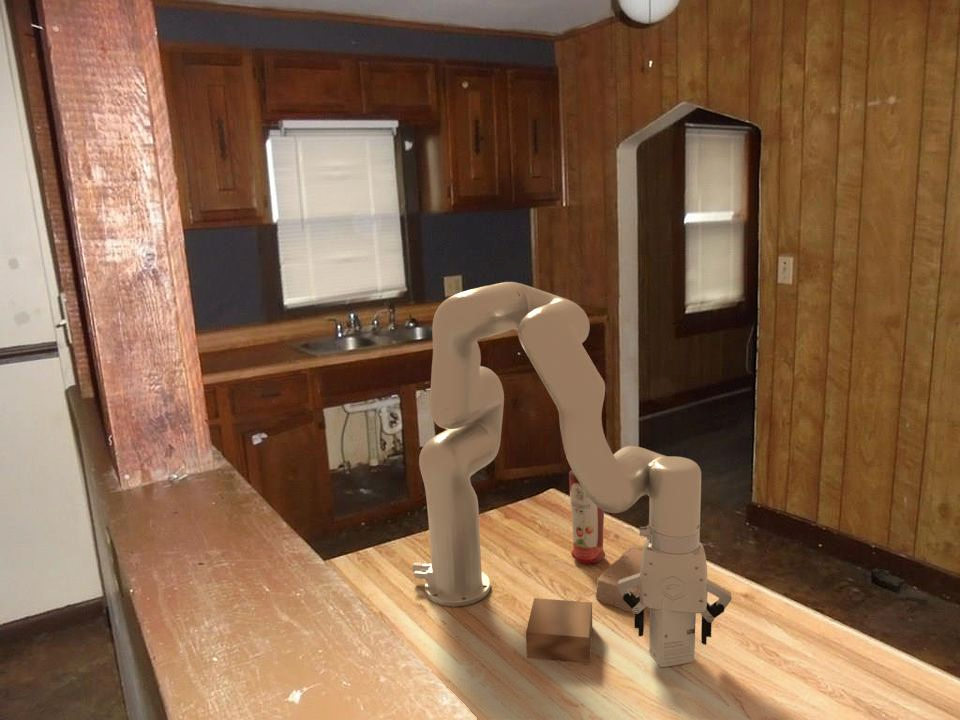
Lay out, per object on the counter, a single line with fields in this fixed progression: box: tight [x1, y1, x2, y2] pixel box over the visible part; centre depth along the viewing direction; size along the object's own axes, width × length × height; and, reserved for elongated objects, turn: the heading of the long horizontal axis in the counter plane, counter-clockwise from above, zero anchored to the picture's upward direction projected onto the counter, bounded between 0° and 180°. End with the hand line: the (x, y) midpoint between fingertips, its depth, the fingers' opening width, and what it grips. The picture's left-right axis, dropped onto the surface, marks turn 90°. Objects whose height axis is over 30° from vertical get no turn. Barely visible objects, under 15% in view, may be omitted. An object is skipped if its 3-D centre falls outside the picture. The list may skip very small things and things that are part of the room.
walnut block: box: [525, 597, 593, 665], centre depth 117 cm, size 10×10×5 cm
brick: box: [595, 543, 644, 613], centre depth 132 cm, size 17×8×5 cm, turn 143°
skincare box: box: [648, 598, 697, 668], centre depth 111 cm, size 6×4×12 cm
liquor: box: [568, 469, 606, 566], centre depth 140 cm, size 7×7×28 cm
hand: (672, 635), depth 111 cm, fingers open, 9 cm apart
